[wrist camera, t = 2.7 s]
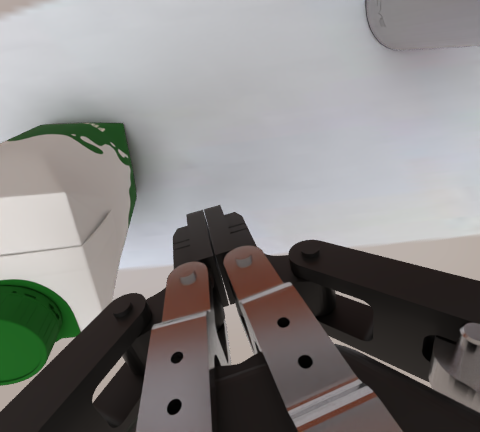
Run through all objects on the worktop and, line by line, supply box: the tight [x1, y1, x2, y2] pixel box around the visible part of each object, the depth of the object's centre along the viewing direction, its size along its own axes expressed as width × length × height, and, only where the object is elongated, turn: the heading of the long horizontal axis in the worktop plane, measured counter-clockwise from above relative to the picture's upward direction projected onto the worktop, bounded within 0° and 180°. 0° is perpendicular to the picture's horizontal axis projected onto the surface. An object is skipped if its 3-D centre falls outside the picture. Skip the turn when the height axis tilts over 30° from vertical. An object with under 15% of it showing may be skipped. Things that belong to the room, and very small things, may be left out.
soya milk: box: [0, 123, 137, 385], centre depth 20 cm, size 9×9×20 cm
